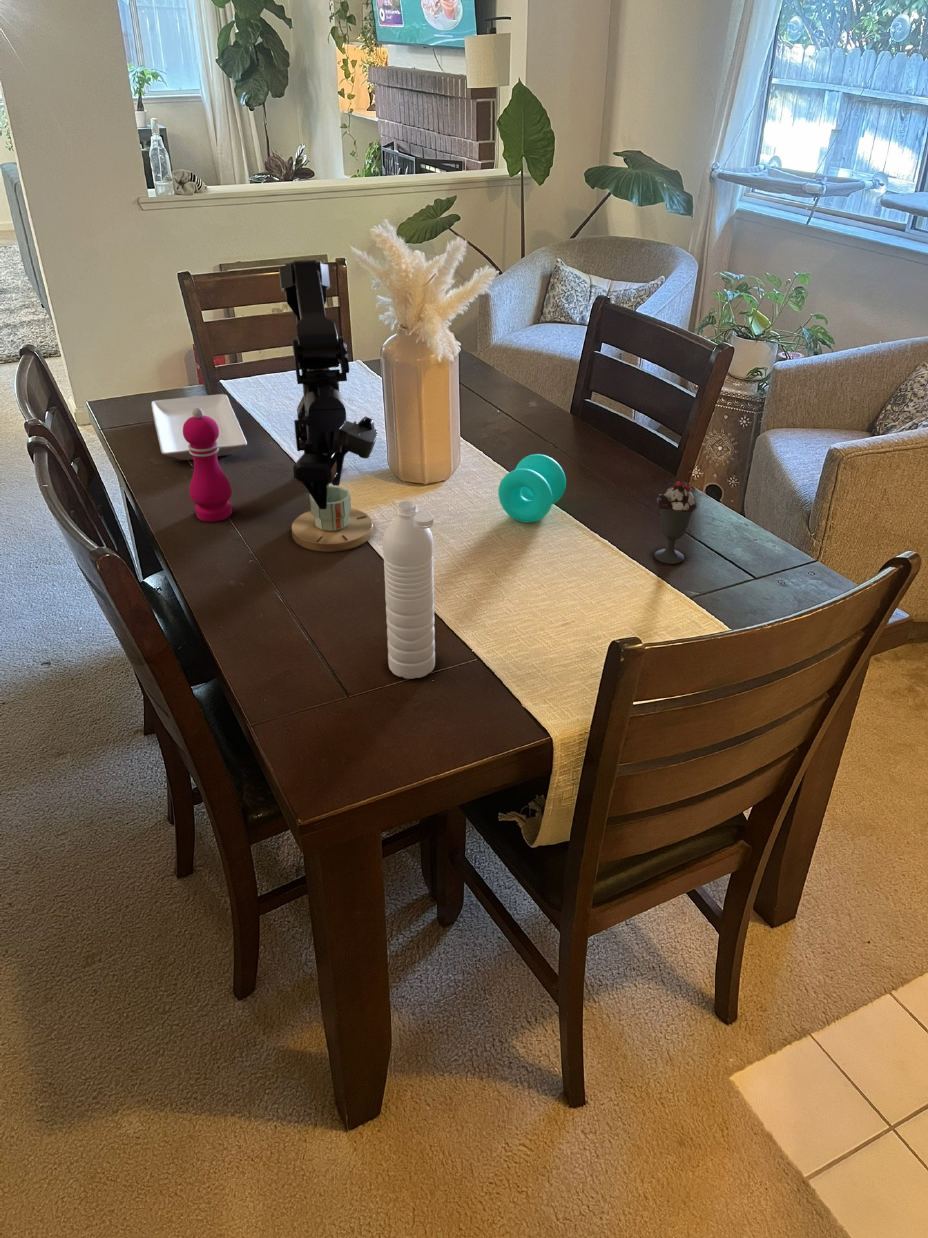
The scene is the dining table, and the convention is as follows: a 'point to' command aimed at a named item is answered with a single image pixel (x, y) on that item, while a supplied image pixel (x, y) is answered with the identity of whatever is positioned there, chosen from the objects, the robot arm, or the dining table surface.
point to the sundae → (674, 519)
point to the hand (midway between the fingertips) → (329, 496)
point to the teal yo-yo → (532, 488)
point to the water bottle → (410, 592)
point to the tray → (179, 410)
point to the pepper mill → (207, 469)
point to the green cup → (333, 510)
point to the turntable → (332, 533)
